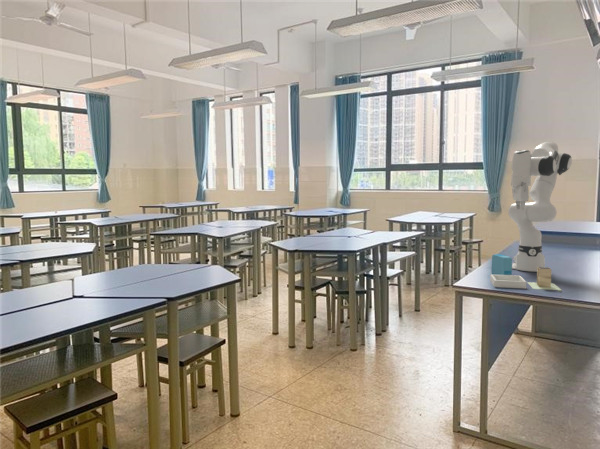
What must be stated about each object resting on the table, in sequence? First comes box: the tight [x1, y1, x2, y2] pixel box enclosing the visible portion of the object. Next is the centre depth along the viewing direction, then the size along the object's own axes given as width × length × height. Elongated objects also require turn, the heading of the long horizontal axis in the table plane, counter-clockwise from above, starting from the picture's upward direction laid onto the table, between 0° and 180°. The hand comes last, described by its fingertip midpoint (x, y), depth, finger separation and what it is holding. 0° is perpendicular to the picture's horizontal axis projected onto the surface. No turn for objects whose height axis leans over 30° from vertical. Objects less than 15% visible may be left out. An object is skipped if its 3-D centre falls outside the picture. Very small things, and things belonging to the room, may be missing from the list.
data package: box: [491, 253, 513, 275], centre depth 232 cm, size 12×4×12 cm, turn 5°
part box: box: [536, 266, 552, 287], centre depth 209 cm, size 5×5×9 cm
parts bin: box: [489, 273, 527, 289], centre depth 214 cm, size 14×14×4 cm
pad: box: [526, 281, 563, 293], centre depth 210 cm, size 14×12×1 cm
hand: (520, 209), depth 221 cm, fingers open, 8 cm apart
